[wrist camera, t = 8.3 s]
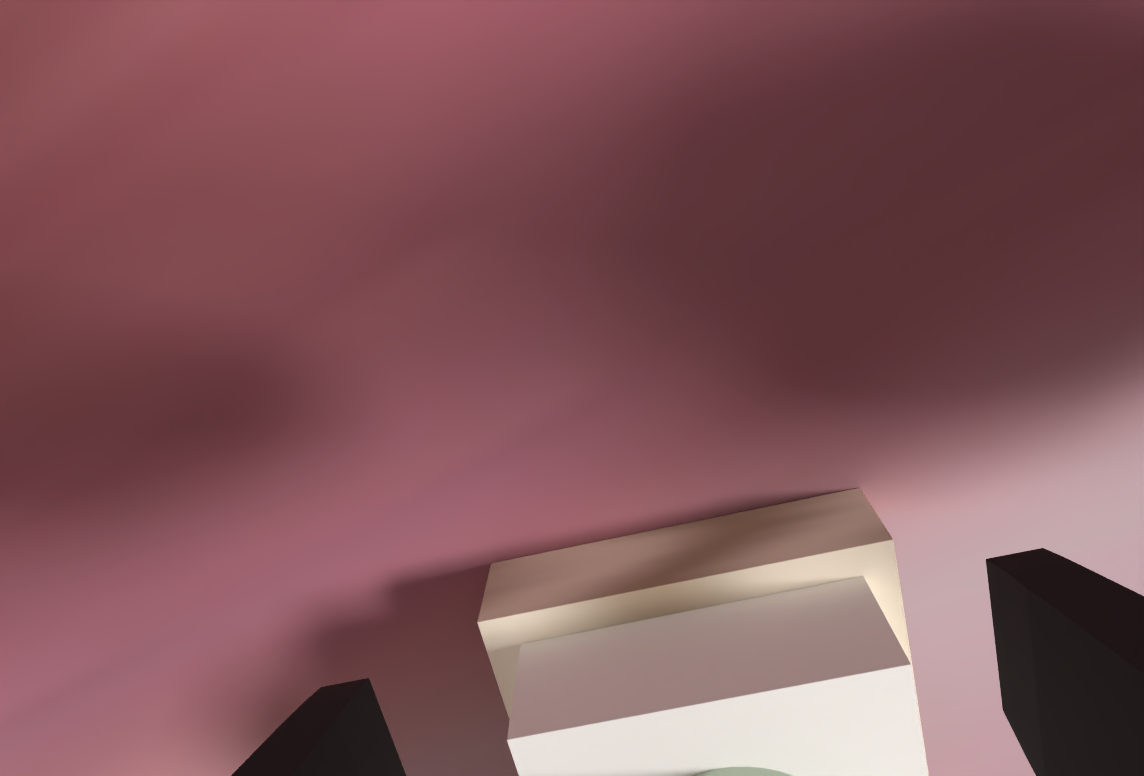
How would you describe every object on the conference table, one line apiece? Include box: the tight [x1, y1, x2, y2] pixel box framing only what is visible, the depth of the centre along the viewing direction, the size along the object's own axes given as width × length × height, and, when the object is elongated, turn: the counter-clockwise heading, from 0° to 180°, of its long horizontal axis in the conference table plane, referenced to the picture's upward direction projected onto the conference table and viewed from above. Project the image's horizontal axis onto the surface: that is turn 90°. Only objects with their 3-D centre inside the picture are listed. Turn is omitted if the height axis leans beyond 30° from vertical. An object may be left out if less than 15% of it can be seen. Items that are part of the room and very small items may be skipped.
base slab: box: [477, 488, 929, 776], centre depth 21 cm, size 9×9×3 cm
